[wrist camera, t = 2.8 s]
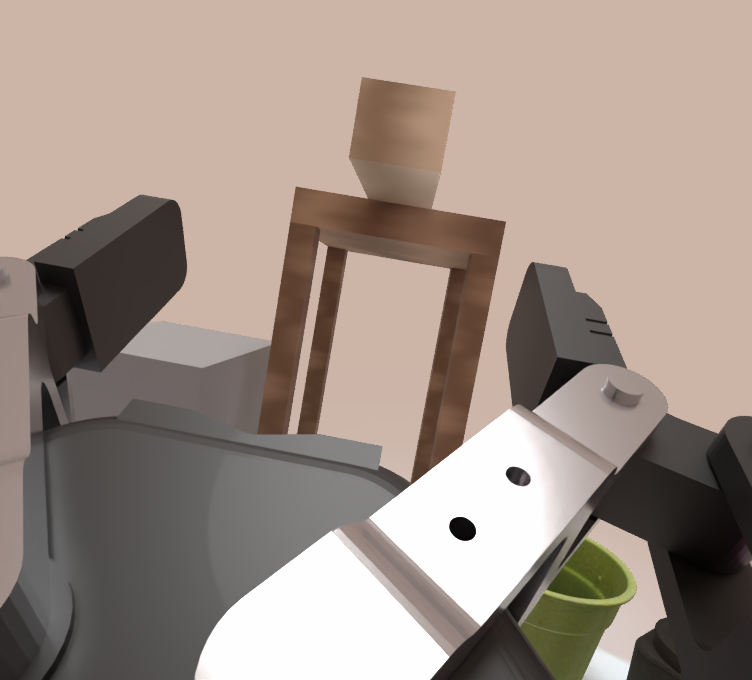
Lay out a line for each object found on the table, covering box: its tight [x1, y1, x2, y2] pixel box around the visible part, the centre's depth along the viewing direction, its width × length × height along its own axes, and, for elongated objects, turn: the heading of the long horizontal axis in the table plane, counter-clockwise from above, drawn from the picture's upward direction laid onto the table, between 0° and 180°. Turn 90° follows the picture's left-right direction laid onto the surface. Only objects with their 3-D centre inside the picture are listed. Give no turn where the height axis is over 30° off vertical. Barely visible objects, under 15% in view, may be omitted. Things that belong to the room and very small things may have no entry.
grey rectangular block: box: [68, 321, 272, 435], centre depth 32 cm, size 9×14×22 cm, turn 176°
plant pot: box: [520, 537, 637, 680], centre depth 36 cm, size 12×12×11 cm
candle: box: [627, 561, 752, 680], centre depth 23 cm, size 5×5×25 cm
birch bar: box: [349, 77, 455, 209], centre depth 31 cm, size 4×24×3 cm, turn 176°
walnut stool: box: [257, 187, 506, 484], centre depth 37 cm, size 12×15×32 cm
